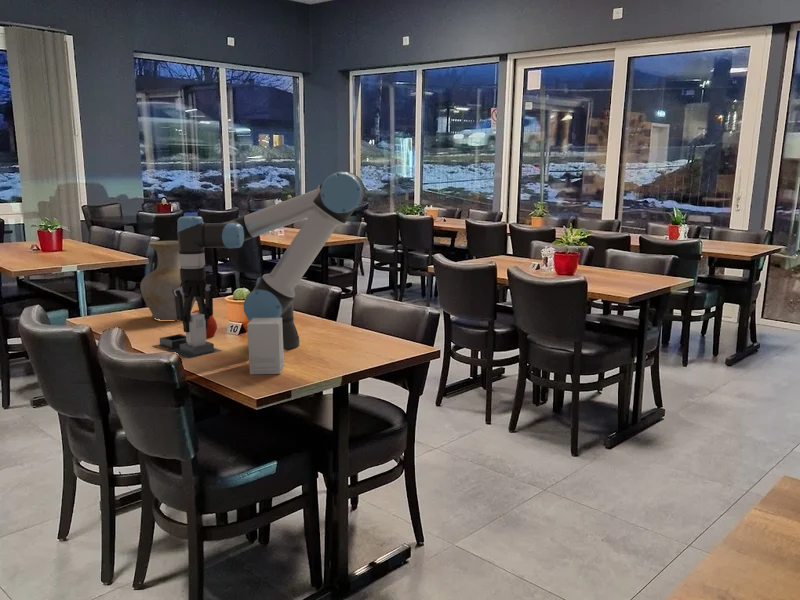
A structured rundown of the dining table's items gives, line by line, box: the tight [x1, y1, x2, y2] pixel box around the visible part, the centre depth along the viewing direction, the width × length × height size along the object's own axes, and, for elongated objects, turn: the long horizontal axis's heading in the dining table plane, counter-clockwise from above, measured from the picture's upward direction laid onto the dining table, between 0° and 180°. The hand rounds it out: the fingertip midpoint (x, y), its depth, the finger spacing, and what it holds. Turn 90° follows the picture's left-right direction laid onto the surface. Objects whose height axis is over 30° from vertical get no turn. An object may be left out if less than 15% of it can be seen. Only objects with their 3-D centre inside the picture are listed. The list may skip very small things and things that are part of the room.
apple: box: [191, 309, 218, 339], centre depth 229 cm, size 10×10×10 cm
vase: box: [139, 240, 197, 320], centre depth 261 cm, size 22×22×30 cm
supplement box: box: [246, 318, 285, 375], centre depth 193 cm, size 9×9×15 cm
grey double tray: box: [151, 333, 223, 359], centre depth 213 cm, size 22×12×4 cm, turn 49°
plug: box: [187, 312, 207, 347], centre depth 208 cm, size 5×4×12 cm
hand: (196, 340), depth 209 cm, fingers closed on plug, 4 cm apart
